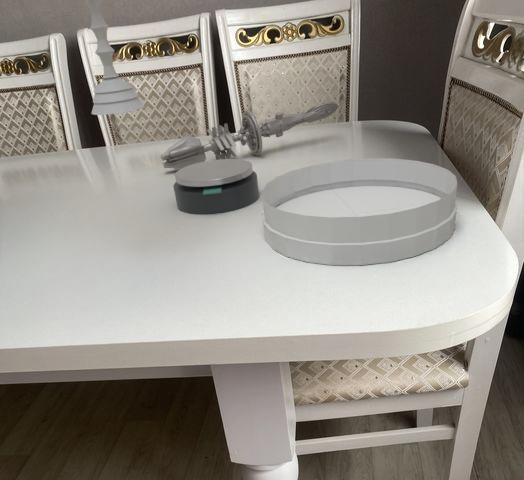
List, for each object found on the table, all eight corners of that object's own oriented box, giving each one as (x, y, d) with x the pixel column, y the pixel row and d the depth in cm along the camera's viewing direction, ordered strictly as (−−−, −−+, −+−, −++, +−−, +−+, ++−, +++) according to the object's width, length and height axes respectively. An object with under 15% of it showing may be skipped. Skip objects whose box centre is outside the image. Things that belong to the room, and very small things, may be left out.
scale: (171, 219, 71) (167, 196, 70) (182, 192, 82) (178, 172, 80) (259, 210, 71) (256, 186, 69) (258, 184, 81) (256, 163, 79)
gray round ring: (282, 280, 52) (277, 232, 49) (251, 211, 71) (247, 174, 68) (494, 244, 54) (501, 196, 51) (410, 187, 72) (411, 149, 70)
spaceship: (350, 96, 93) (328, 75, 97) (165, 154, 86) (150, 129, 90) (346, 135, 100) (326, 114, 104) (174, 193, 93) (159, 168, 97)
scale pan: (171, 190, 70) (169, 184, 70) (180, 169, 79) (179, 163, 79) (252, 181, 70) (252, 175, 69) (252, 161, 79) (252, 155, 78)
